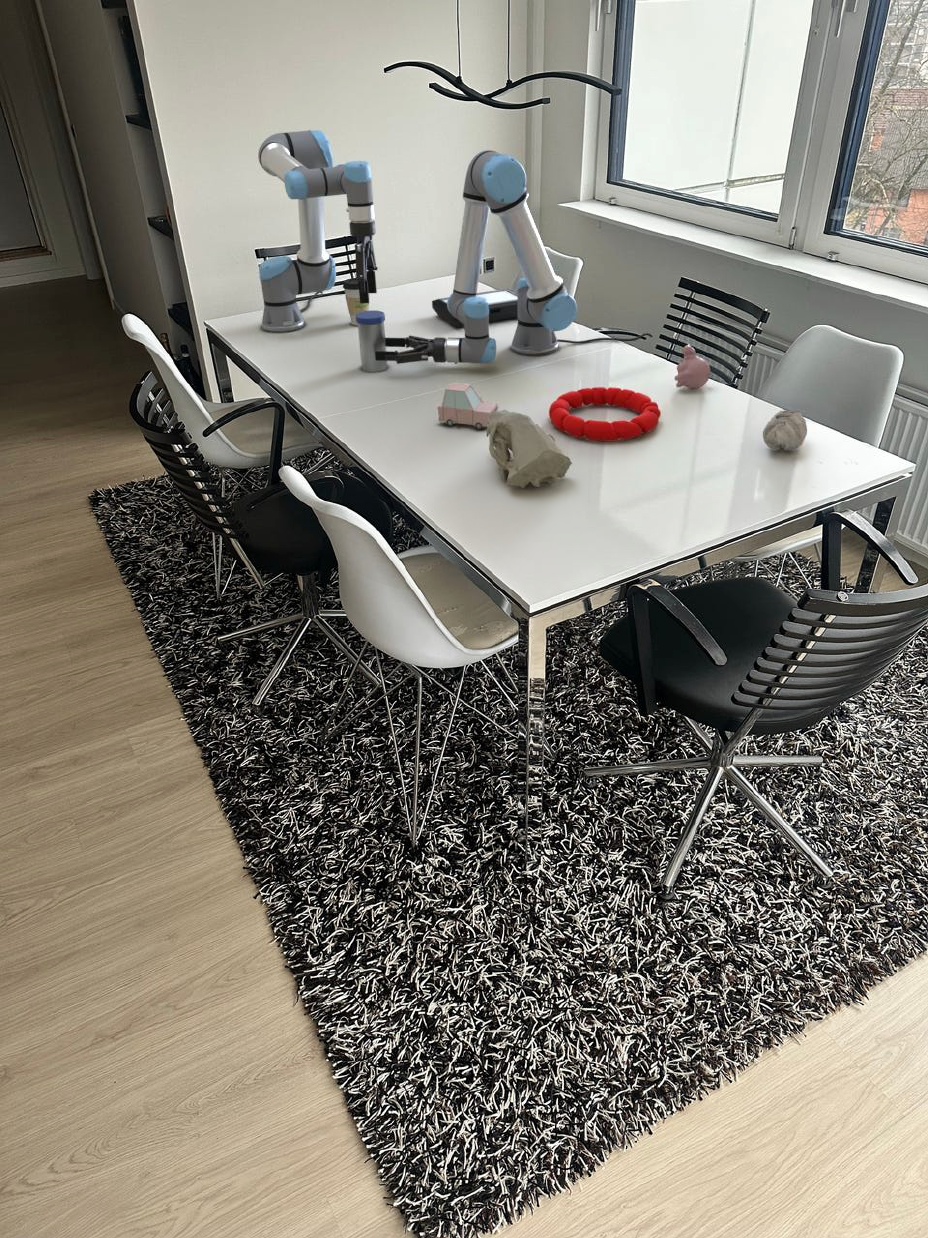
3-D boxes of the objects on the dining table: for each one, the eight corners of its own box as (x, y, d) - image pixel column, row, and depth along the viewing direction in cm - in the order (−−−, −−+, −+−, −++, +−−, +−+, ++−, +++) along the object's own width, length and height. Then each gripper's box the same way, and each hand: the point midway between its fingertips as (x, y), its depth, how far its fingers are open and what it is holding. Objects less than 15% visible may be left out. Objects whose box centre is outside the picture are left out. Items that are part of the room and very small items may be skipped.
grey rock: (496, 517, 219) (521, 479, 201) (463, 429, 225) (484, 384, 207) (557, 503, 225) (586, 465, 206) (523, 417, 231) (549, 373, 212)
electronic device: (453, 311, 314) (431, 298, 329) (454, 329, 317) (432, 315, 332) (533, 299, 324) (509, 286, 339) (533, 316, 327) (509, 303, 342)
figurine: (665, 387, 264) (669, 347, 257) (693, 380, 268) (698, 340, 261) (686, 396, 257) (690, 355, 250) (714, 388, 262) (720, 348, 255)
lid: (390, 320, 277) (390, 314, 276) (365, 326, 273) (364, 320, 272) (375, 314, 283) (375, 308, 282) (350, 320, 279) (350, 314, 278)
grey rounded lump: (746, 448, 227) (752, 410, 221) (789, 435, 232) (796, 398, 227) (776, 462, 219) (783, 424, 213) (820, 449, 225) (828, 411, 219)
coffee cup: (372, 326, 323) (368, 283, 314) (345, 327, 323) (340, 284, 315) (374, 318, 331) (371, 276, 322) (348, 319, 331) (344, 277, 323)
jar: (392, 368, 285) (388, 316, 276) (370, 373, 282) (365, 321, 272) (379, 361, 291) (374, 310, 282) (357, 367, 287) (352, 315, 278)
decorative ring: (589, 435, 224) (684, 402, 234) (527, 398, 247) (617, 369, 256) (589, 461, 229) (683, 427, 238) (529, 422, 251) (617, 393, 260)
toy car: (488, 432, 240) (488, 396, 234) (436, 426, 244) (434, 390, 239) (499, 419, 247) (499, 384, 241) (448, 413, 252) (447, 379, 246)
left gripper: (357, 212, 271) (364, 287, 284) (340, 228, 252) (348, 308, 265) (382, 212, 270) (387, 287, 283) (366, 228, 252) (372, 308, 264)
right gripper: (440, 375, 270) (372, 373, 273) (453, 349, 291) (389, 348, 294) (439, 350, 266) (370, 349, 269) (452, 326, 286) (388, 325, 289)
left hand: (368, 297), depth 274 cm, fingers open, 11 cm apart
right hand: (380, 348), depth 281 cm, fingers open, 13 cm apart
